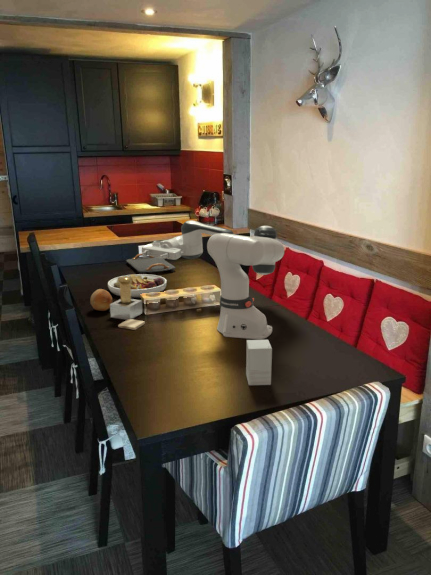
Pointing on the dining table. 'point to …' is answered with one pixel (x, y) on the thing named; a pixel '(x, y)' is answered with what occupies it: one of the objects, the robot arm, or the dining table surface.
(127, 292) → the cover plug
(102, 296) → the onion
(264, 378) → the supplement box
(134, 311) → the housing
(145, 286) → the bowl
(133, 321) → the coaster
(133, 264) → the serving board
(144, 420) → the dining table surface
